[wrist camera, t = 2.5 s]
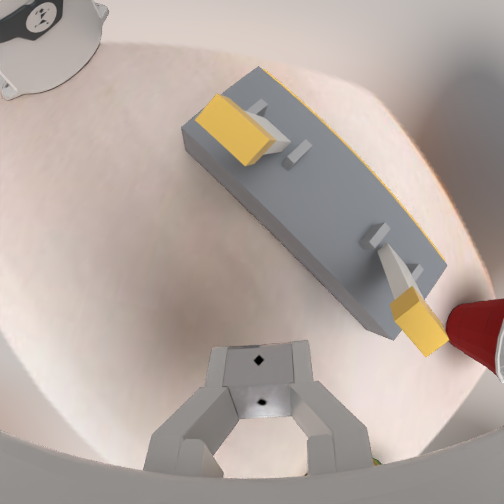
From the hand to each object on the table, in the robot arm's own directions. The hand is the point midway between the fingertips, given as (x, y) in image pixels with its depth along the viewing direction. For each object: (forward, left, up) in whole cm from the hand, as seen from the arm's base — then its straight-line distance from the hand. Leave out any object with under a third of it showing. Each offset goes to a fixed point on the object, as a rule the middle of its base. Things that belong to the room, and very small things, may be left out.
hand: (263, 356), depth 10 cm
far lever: (+8, +13, -16) cm, 21 cm away
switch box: (0, +13, -23) cm, 26 cm away
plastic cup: (+26, +18, -23) cm, 39 cm away
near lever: (-7, +13, -16) cm, 21 cm away
